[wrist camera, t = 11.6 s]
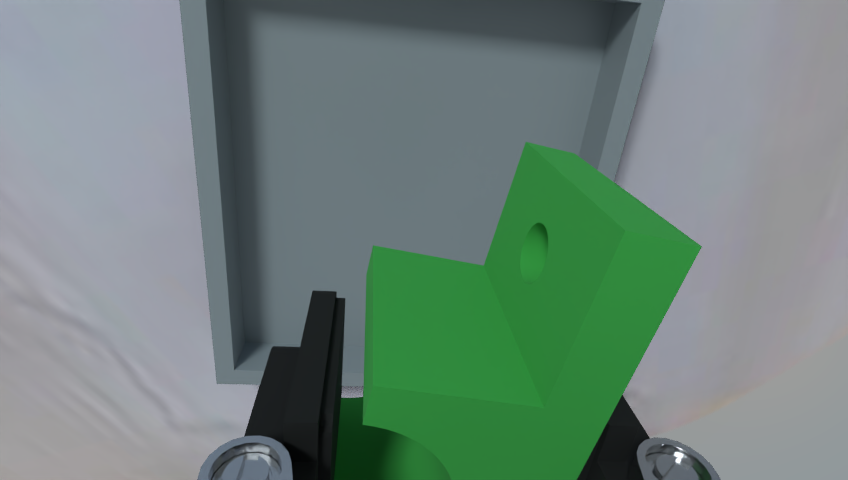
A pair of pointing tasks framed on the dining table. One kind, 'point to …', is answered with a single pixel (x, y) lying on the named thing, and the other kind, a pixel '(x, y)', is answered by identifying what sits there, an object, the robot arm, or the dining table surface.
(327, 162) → the tray
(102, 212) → the dining table surface
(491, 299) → the pipe clamp
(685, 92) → the dining table surface
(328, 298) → the robot arm
